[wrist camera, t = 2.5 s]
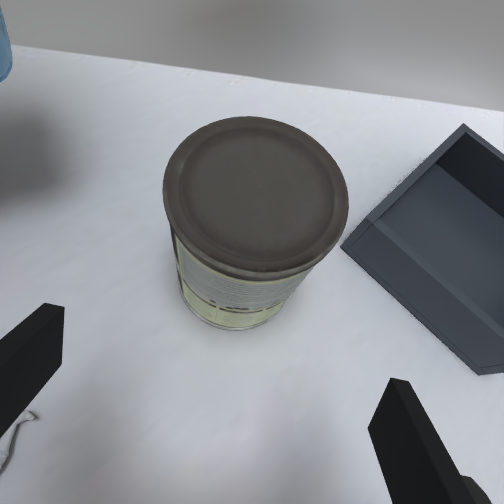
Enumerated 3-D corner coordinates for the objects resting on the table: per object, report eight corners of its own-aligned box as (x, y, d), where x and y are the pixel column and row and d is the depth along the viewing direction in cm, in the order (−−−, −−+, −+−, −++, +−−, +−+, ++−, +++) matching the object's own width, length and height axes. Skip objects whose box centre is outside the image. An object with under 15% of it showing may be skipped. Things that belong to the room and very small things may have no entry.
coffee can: (158, 249, 32) (132, 145, 19) (257, 209, 35) (290, 96, 23) (207, 354, 29) (215, 311, 16) (311, 300, 32) (385, 229, 20)
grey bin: (339, 246, 35) (365, 217, 30) (428, 160, 41) (463, 122, 36) (478, 375, 32) (536, 369, 26) (552, 261, 38) (611, 236, 32)
